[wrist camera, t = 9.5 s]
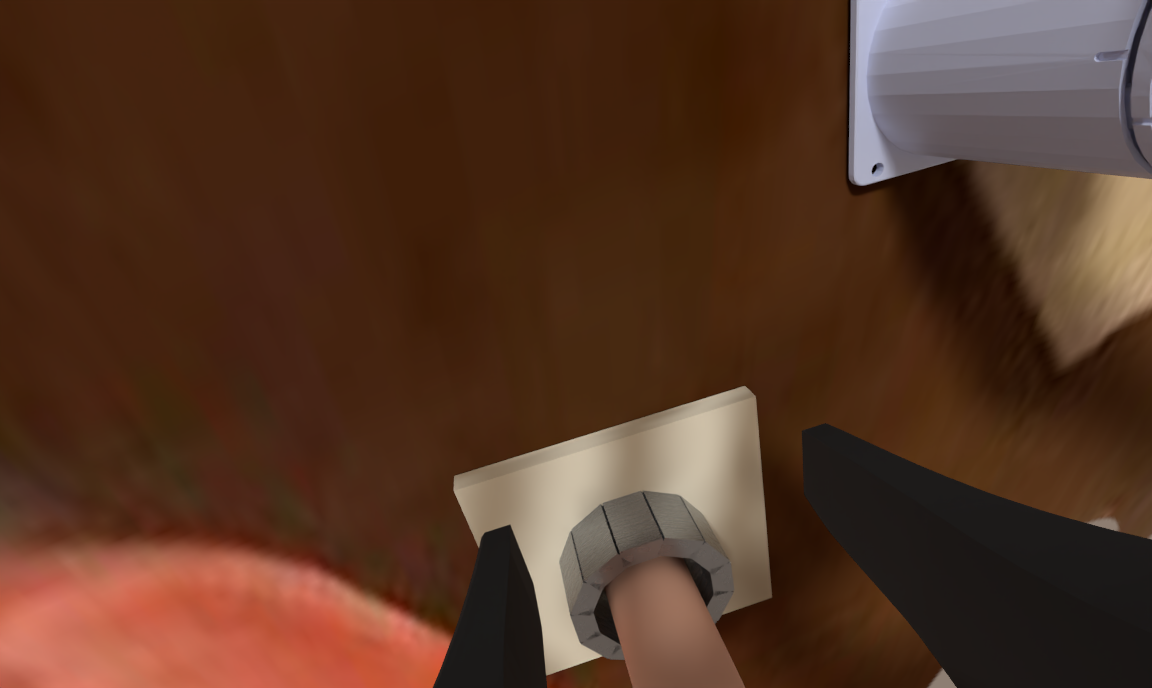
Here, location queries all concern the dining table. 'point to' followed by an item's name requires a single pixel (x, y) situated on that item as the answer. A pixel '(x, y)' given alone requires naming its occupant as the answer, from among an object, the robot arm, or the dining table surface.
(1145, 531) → the dining table surface
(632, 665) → the peg
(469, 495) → the socket board
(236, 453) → the dining table surface
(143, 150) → the dining table surface
